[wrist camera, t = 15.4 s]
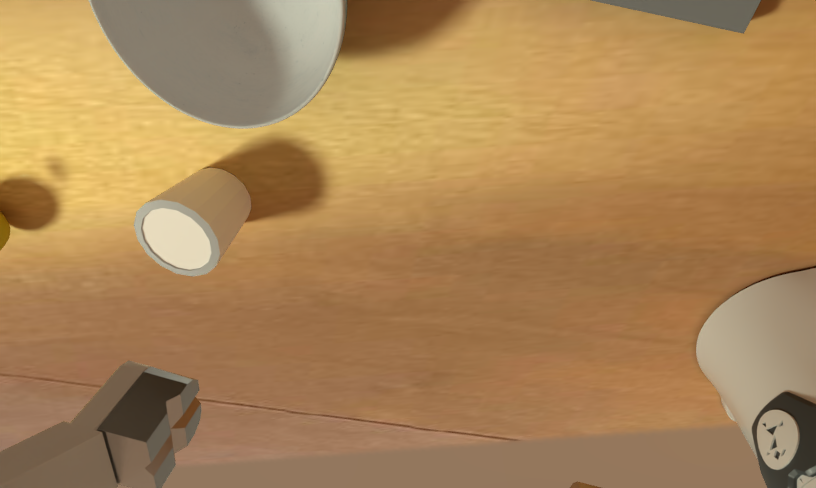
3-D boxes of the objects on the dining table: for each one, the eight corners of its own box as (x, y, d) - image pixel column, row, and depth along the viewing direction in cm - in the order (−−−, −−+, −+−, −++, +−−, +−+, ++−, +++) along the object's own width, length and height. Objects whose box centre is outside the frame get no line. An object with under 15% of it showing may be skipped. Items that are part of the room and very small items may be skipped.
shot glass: (262, 176, 42) (222, 218, 37) (254, 240, 46) (216, 288, 41) (183, 149, 42) (130, 187, 37) (182, 216, 46) (134, 260, 41)
